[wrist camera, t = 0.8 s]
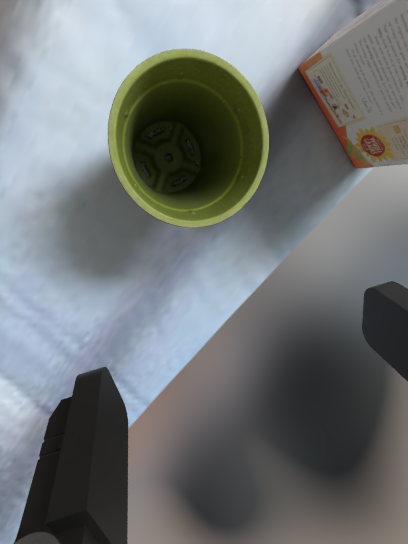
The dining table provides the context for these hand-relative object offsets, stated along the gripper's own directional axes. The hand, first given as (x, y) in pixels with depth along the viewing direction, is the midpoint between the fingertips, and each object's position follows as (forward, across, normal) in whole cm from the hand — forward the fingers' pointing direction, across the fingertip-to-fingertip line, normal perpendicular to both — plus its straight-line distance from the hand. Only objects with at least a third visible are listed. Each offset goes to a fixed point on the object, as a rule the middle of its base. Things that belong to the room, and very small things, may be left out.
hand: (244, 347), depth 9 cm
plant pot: (+28, -2, -2) cm, 28 cm away
